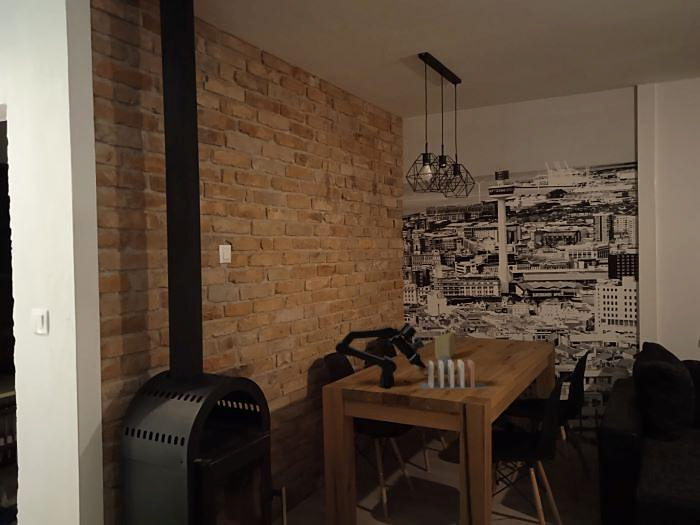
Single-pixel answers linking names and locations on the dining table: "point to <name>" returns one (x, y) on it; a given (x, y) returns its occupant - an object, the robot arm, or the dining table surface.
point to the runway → (456, 386)
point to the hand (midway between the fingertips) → (425, 367)
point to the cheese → (444, 345)
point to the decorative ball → (445, 361)
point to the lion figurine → (425, 369)
